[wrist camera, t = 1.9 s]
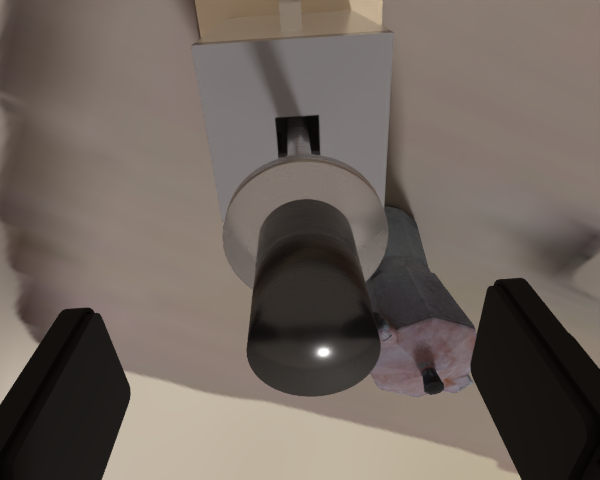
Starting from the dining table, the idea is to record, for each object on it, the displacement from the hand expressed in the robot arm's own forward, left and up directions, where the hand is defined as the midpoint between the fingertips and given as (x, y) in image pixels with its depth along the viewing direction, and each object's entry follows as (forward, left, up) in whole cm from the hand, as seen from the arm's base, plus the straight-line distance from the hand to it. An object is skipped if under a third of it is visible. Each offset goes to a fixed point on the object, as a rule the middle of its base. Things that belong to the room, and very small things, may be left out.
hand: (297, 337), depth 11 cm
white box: (0, 0, -33) cm, 33 cm away
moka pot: (-8, +18, -33) cm, 39 cm away
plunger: (0, 0, -23) cm, 23 cm away
